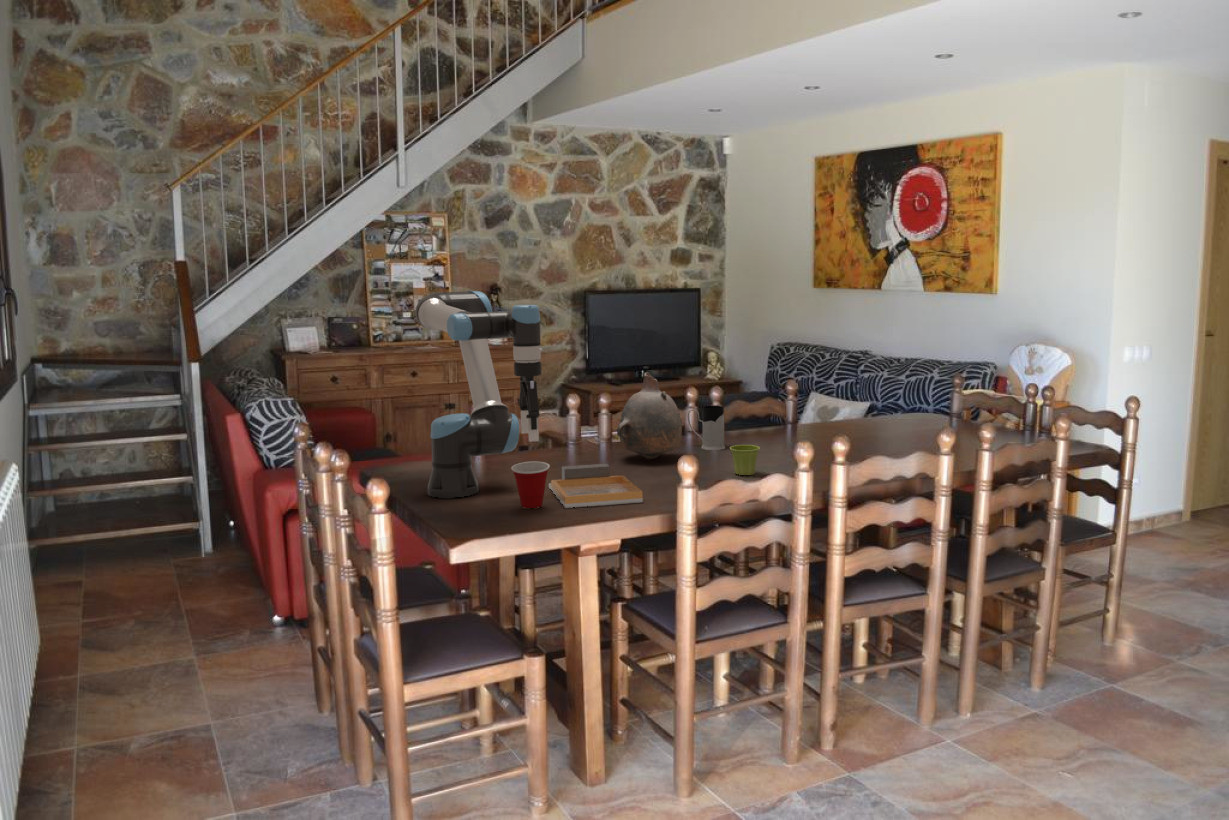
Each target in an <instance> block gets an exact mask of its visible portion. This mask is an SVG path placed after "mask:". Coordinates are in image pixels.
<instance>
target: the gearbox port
mask: <svg viewBox="0 0 1229 820" xmlns="http://www.w3.org/2000/svg"><path fill="white" fill-rule="evenodd" d="M610 470H611V467H610V465H609V464H608V463H596V464H593V463H592V464H580V465H567V466H566V465H565V466H561V479H551V481H550V482H549V483H548V489H549V490H550V489H551V490H552V491H553V492H552V491H551V490H550V491H551V492H552V493H553V495H554V494H555V495H556V496H555V495H554V496H555V497H556V499H559V500H560V501H559V500H558V501H559V502H560V503H561V505H562V504H563V505H562V506H563V507H564V508H565V509H573V507H575V508H584V507H585V508H588V507H599V506H613V505H614V506H615V505H624V504H639V503H640V504H641V503H644V501H643V500H644V498H643V490H641V489H640V488H639V487H638V486H637V485H636V484H634V483H633V482H632V481H631V480H629V479H628V478H627V476H625V475H623V474H622V475H611V471H610ZM587 506H588V507H587Z"/></svg>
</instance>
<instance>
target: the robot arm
mask: <svg viewBox="0 0 1229 820" xmlns="http://www.w3.org/2000/svg"><path fill="white" fill-rule="evenodd" d="M414 309H415V310H414V315H415V319H416V321H417V322H418V323H419V325H420V326H421V327H423V328H425V329H427V330H432V331H436V330H440V331H443V332H444V333H445V332H446V333H447V334H448V336H449V338H450V339H451V340H452V341H458V342H459V347H460V350H461V351H460V352H461V355H462V360H463V364H464V370H465V374H466V379H467V384H468V387H469V392H470V397H471V401H472V405H473V410H472V412H471V413H470V414H469V413H465V412H464V413H462V412H461V413H451V414H447V415H443V416H439V417H437V418H435V419H434V420H432V422H431V424H430V434H429V435H430V440H431V441H430V442H431V462H432V463H431V464H432V465H431V466H432V469H431V473H430V477H429V480H428V484H427V496H429V497H431V496H432V497H431V498H435V497H438V498H437V499H455V498H454V497H462V498H465V497H464V496H468V497H471V496H470V495H472V496H474V495H473V494H475V495H477V494H479V492H478V491H479V483H478V480H477V476H476V475H475V472H474V469H473V467H472V466H473V465H472V463H473V462H472V457H480V456H481V457H482V456H488V455H490V456H491V455H498V454H499V455H502V454H505V453H506V454H507V453H510V452H513V451H514V450H516V447H517V445H518V442H519V439H520V432H521V434H524V435H525V434H528V442H531V443H532V442H539V441H540V436H539V435H540V434H539V417H540V407H539V397H538V388H537V387H538V385H537V380H535V378H534V377H538V376H540V375H542V362H541V361H540V360H541V359H542V352H543V351H544V349H543V348H541V345H542V344H541V314H540V313H541V312H540V307H539V306H538V305H536V304H516V305H514V306H512V309H511V310H510V309H509V310H507V309H505V310H501V311H493V308H492V305H491V302H490V299H489V297H488V296H487V294H485V293H484V292H482V291H479V290H477V291H476V290H475V291H473V290H467V291H446V292H445V291H444V292H443V291H437V292H432V293H429V294H427V295H425V296H423V297H422V298H421V299H420V300H419V301H418V302H417V304H416V306H415V308H414ZM493 339H512V342H513V343H512V351H513V352H512V353H513V355H512V357H513V360H514V361H515V362H514V363H513V374H514V376H515V377H519V404H518V406H519V409H520V423H519V419H518V416H517V415H516V414H515V413H510V411H509V407H508V406H507V405H506V404H504V403H502V399H501V395H500V391H499V390H500V389H499V387H498V382H497V378H496V377H497V376H496V372H495V369H494V364H493V360H492V355H491V351H490V347H489V342H488V340H493ZM520 430H521V431H520ZM476 493H477V494H476Z"/></svg>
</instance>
